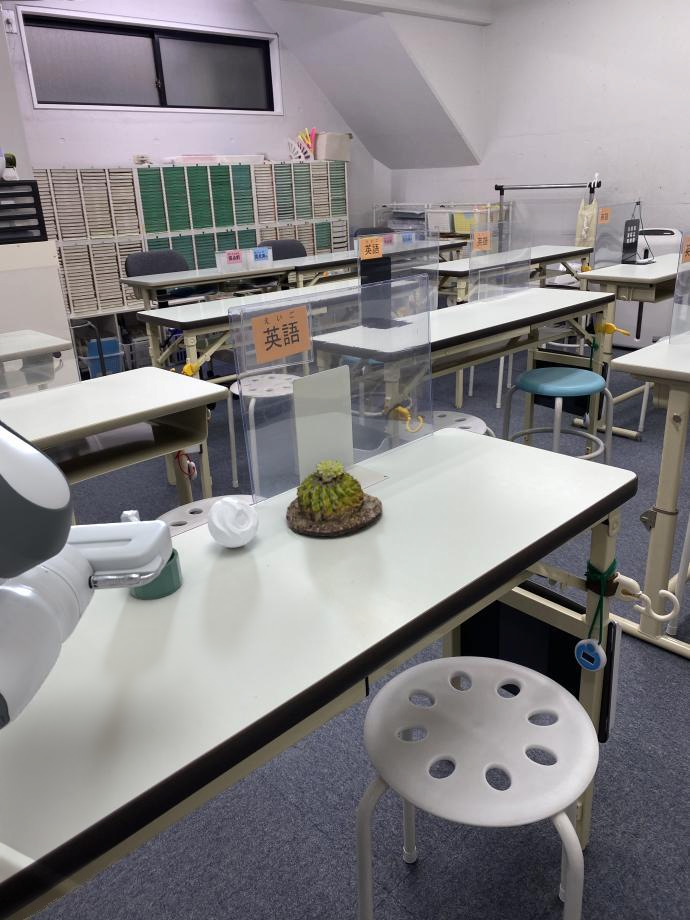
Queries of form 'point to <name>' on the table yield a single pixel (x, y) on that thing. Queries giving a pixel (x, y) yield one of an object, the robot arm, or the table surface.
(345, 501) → the cactus
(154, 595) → the green round container
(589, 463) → the table surface
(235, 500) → the white swirled ball
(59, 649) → the robot arm
